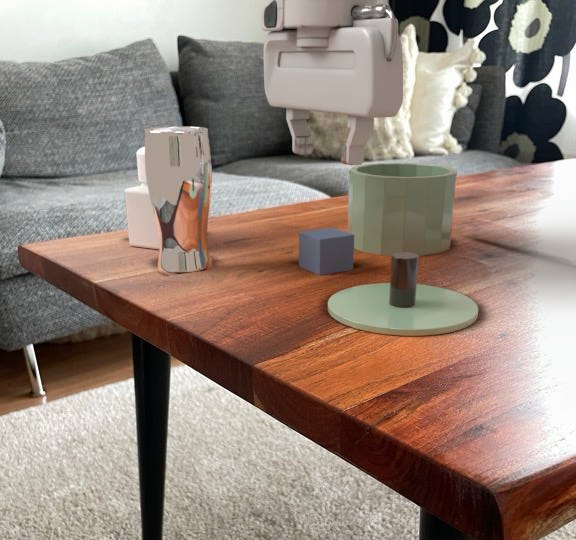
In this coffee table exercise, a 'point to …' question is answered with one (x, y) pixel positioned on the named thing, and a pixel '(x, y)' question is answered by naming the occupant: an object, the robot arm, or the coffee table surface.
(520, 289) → the coffee table surface
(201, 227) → the beer glass
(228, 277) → the coffee table surface
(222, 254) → the coffee table surface
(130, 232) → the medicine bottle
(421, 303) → the lid
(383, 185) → the tin
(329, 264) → the block
